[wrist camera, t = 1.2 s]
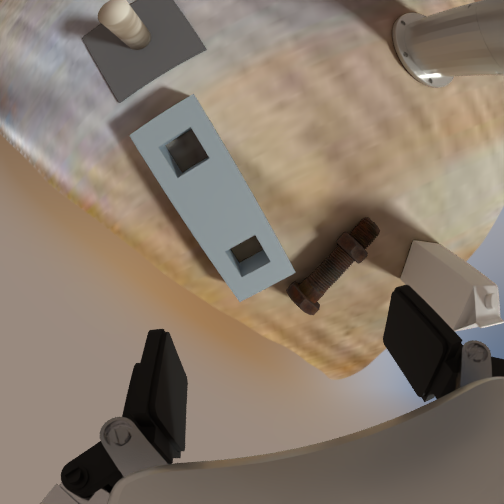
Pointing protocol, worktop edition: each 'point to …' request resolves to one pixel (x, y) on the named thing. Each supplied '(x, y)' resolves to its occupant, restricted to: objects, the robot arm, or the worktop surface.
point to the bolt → (333, 266)
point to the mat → (149, 58)
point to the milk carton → (451, 286)
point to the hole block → (213, 199)
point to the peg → (124, 24)
